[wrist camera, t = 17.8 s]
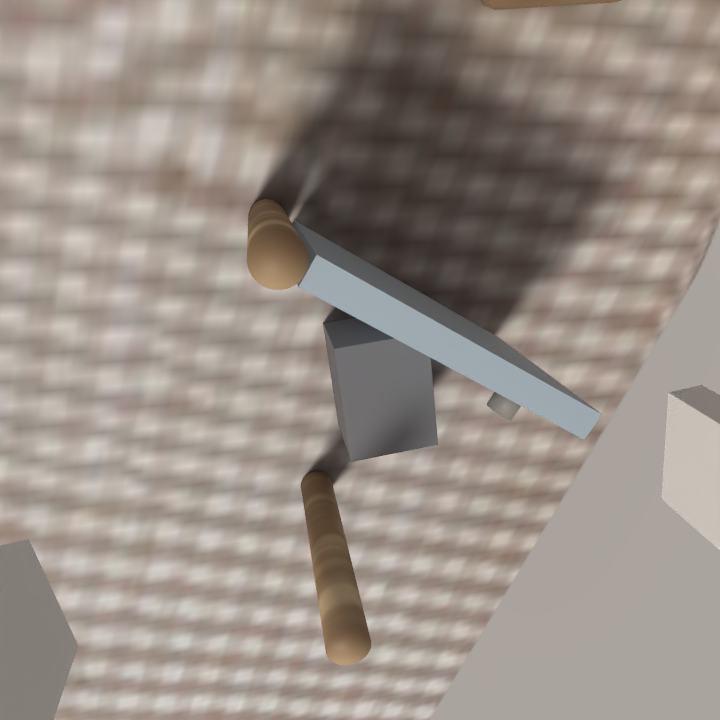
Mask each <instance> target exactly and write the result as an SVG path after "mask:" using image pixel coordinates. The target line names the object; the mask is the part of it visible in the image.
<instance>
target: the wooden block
mask: <svg viewBox="0 0 720 720" xmlns="http://www.w3.org/2000/svg"><path fill="white" fill-rule="evenodd" d="M618 1H620V0H481V2H482V5H485V6H488V7H490V8H492V9H494V10H498V9H514V8H530V7H546V6H563V5H579V4H595V3H611V2H618Z"/></svg>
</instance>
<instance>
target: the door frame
mask: <svg viewBox="0 0 720 720" xmlns="http://www.w3.org/2000/svg"><path fill="white" fill-rule="evenodd" d="M247 264H248V268H249V271H250V273H251V275H252V276H253V278H254V279H255V280H256V281H257V282H258V283H259V284H261V285H262V286H264V287H266V288H269V289H274V290H283V289H287V288H290V287H292V286H294V285H295V284H297V283H298V282H299V281H300V280H301V279H302V278H303V276H304V274H305V272H306V270H307V266H308V254H307V250H306V248H305V246H304V244H303V242H302V240H301V239H300V237H299V235H298V234H297V232H296V230H295V228H294V227H293V225H292V223H291V221H290V220H289V218H288V216H287V215H286V213H285V211H284V209H283V208H282V206H281V205H280V204H279V203H278V202H276V201H274V200H271V199H262V200H259V201H257V202H256V203H254V204H253V206H252V207H251V209H250V211H249V217H248V247H247ZM301 490H302V496H303V503H304V510H305V516H306V523H307V530H308V536H309V543H310V550H311V556H312V563H313V569H314V576H315V583H316V589H317V596H318V603H319V609H320V616H321V622H322V629H323V636H324V642H325V649H326V654H327V657H328V658H329V659H330V660H331V661H332V662H334V663H336V664H339V665H350V664H354V663H356V662H359V661H360V660H362V659H363V658H364V657H365V656H366V655H367V654H368V653H369V651H370V648H371V640H370V636H369V632H368V627H367V623H366V619H365V615H364V611H363V607H362V603H361V599H360V595H359V591H358V587H357V583H356V579H355V575H354V571H353V567H352V562H351V558H350V554H349V550H348V546H347V542H346V538H345V534H344V530H343V526H342V522H341V518H340V514H339V510H338V506H337V501H336V497H335V493H334V489H333V485H332V481H331V478H330V476H329V475H328V474H326V473H325V472H322V471H313V472H310V473H308V474H307V475H306V476H305V477H304V478H303V480H302V482H301Z"/></svg>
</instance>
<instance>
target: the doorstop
mask: <svg viewBox="0 0 720 720" xmlns="http://www.w3.org/2000/svg"><path fill="white" fill-rule="evenodd" d="M323 326H324V333H325V339H326V346H327V352H328V359H329V366H330V372H331V379H332V385H333V392H334V398H335V405H336V412H337V418H338V424H339V427H340V430H341V433H342V436H343V439H344V443H345V446H346V449H347V452H348V455H349V458H350V461H351V462H353V461H358V460H363V459H368V458H373V457H378V456H383V455H388V454H393V453H398V452H403V451H408V450H413V449H418V448H423V447H428V446H433V445H438V438H437V427H436V415H435V403H434V391H433V379H432V367H431V358H430V357H428V356H427V355H425V354H423V353H421V352H419V351H417V350H415V349H413V348H412V347H410V346H408V345H406V344H404V343H402V342H400V341H398V340H397V339H395V338H393V337H391V336H389V335H387V334H385V333H383V332H382V331H380V330H378V329H376V328H374V327H372V326H370V325H368V324H367V323H365V322H363V321H361V320H359V319H357V318H355V317H353V318H348V319H342V320H336V321H330V322H324V323H323Z"/></svg>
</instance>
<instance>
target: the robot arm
mask: <svg viewBox="0 0 720 720" xmlns="http://www.w3.org/2000/svg"><path fill="white" fill-rule="evenodd" d="M665 441H666V442H665V455H664V457H665V458H664V471H663V486H662V499H663V500H664V501H665V502H666V503H667V504H668V505H669V506H670V507H672V508H673V509H674V510H675V511H676V512H677V513H678V514H679V515H681V516H682V517H683V518H684V519H685V520H686V521H687V522H688V523H690V524H691V525H692V526H693V527H694V528H695V529H696V530H697V531H699V532H700V533H701V534H702V535H703V536H704V537H705V538H707V539H708V540H709V541H710V542H711V543H712V544H713V545H714V546H716V547H717V548H718V549H719V550H720V395H718V394H716V393H715V392H713V391H711V390H709V389H707V388H706V387H704V386H702V385H700V386H696V387H691V388H687V389H682V390H678V391H674V392H669V394H668V410H667V426H666V440H665ZM77 647H78V644H77V642H76V640H75V638H74V635H73V633H72V631H71V629H70V627H69V625H68V622H67V620H66V618H65V616H64V614H63V612H62V610H61V607H60V605H59V603H58V601H57V599H56V597H55V595H54V592H53V590H52V588H51V586H50V584H49V582H48V580H47V577H46V575H45V573H44V571H43V569H42V567H41V565H40V562H39V560H38V558H37V556H36V554H35V552H34V550H33V547H32V545H31V543H30V541H29V539H28V540H24V541H19V542H15V543H11V544H6V545H2V546H0V720H53V719H54V716H55V713H56V710H57V707H58V704H59V701H60V698H61V695H62V692H63V689H64V686H65V683H66V680H67V677H68V674H69V671H70V668H71V665H72V662H73V659H74V656H75V653H76V650H77Z"/></svg>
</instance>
